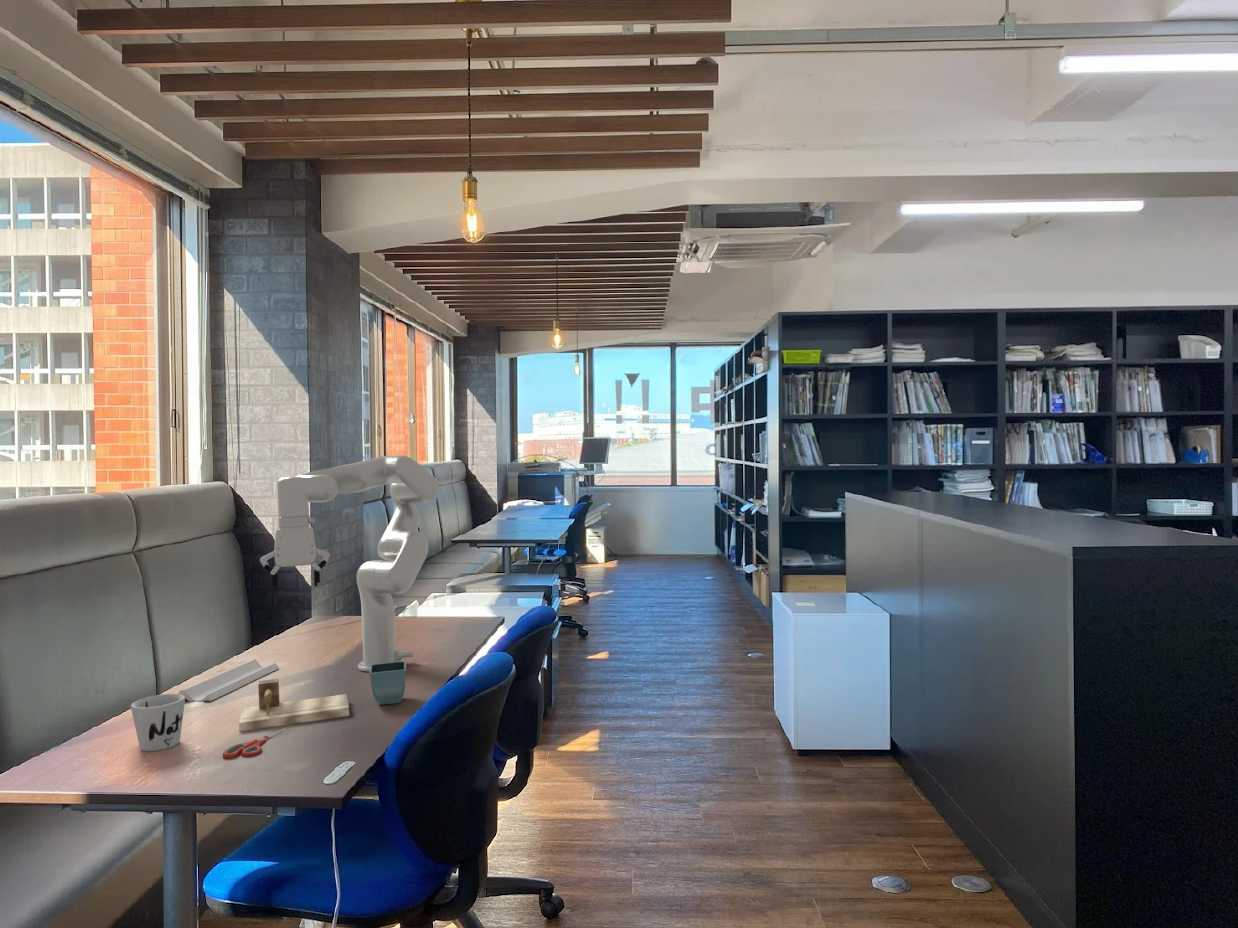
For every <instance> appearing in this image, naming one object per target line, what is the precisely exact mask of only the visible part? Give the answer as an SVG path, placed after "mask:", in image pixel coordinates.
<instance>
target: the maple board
mask: <svg viewBox="0 0 1238 928" xmlns="http://www.w3.org/2000/svg"><path fill="white" fill-rule="evenodd" d="M343 717H350V706H349V701H348V695H347V694H346V693H345V694H337V695H331V696H330V695H329V696H321V697H315V698H309V699H308V698H307V699H300V700H291V701H284V702H280V703H279V706H278V707H270V708H269V715H267V710H266V708H263V709H259V705H255V706H249V707H243V708H241V713H240V717H239V722H238V729H239V730H238V731H239V732H246V731H253V730H260V729H266V728H273V727H279V726H287V725H294V724H301V723H310V722H316V721H323V720H330V719H336V718H343Z"/></svg>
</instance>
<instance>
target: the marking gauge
mask: <svg viewBox="0 0 1238 928" xmlns="http://www.w3.org/2000/svg"><path fill="white" fill-rule="evenodd" d="M279 681H280V680H279V678H273V679H272V678H271V679H265V680H259V681H258V684H257V685H258V706H259V709H263V708H266V710H267V715H269V708H270V707H278V706H279V703H281V702H280V686H279Z"/></svg>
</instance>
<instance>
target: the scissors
mask: <svg viewBox="0 0 1238 928" xmlns="http://www.w3.org/2000/svg"><path fill="white" fill-rule="evenodd" d="M287 729H289V726H286V727H284V728H282V729H279V730H276V731H274V732H271V733H270V734H268V735H264V736H263V737H261V738H259V740H258V738H255V739H252V740H250V741H247V742H243V743H237V744H234V745H232V746H230V747H228V748H226V749H225V750H224V751H223V752H222V758H223V759H224V760H231V759H232V760H233V759H234V758H235V759H236V758H237V757H239V756H240V755H241V757H242V758H252V757H253V758H254V757H256V756H260V755H261V753H263V748H262V745H264V744H265V743H266V742H267V741H268V740H269V739H272V738H274V737H275V736H278V735H279V734H280V733H281V732H280V731H282V732H283V731H285V730H287ZM279 732H280V733H279ZM278 733H279V734H278ZM265 741H266V742H265ZM264 742H265V743H264ZM263 743H264V744H263ZM253 750H255V751H253Z"/></svg>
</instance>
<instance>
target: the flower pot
mask: <svg viewBox="0 0 1238 928" xmlns="http://www.w3.org/2000/svg"><path fill="white" fill-rule="evenodd" d="M406 662H407V661H405V660H402V661H400V662H391V663H382V664H373V665H371V666H370V672H369V680H370V687H371V691H372V695H373V697H374V700H375V701H376V703H377V704H378V705H379V706H383V705H392V704H399V703H401V702H402V699H403V697H404V694H405V690H406V681H407V679H406V678H407V663H406Z"/></svg>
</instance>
